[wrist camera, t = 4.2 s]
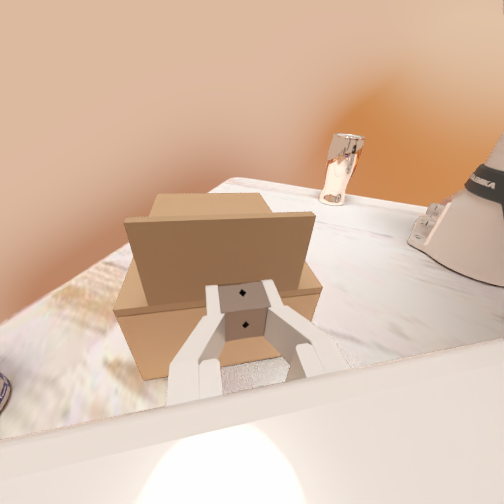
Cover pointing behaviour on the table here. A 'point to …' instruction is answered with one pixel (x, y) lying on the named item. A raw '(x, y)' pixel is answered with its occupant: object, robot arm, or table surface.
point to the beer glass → (340, 167)
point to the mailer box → (179, 329)
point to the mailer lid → (212, 250)
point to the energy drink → (4, 390)
